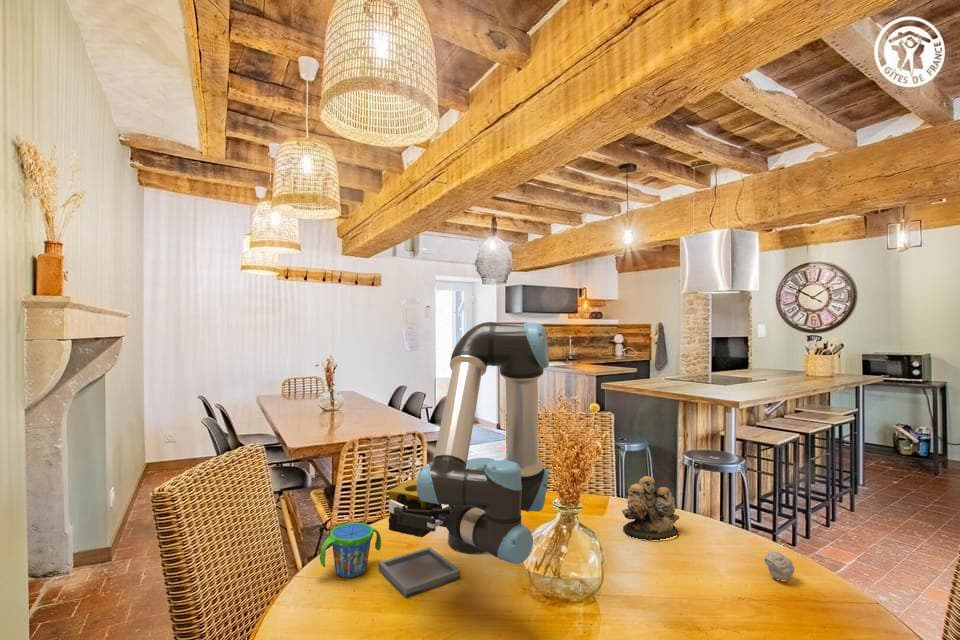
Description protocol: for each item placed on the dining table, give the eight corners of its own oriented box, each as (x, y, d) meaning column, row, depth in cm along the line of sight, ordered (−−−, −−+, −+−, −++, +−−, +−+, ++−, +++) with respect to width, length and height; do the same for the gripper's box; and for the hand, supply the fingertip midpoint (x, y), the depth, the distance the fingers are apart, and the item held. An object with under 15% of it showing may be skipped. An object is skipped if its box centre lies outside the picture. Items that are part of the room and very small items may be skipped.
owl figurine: (632, 544, 138) (632, 484, 139) (613, 527, 150) (613, 472, 150) (687, 539, 142) (687, 481, 142) (665, 523, 153) (665, 470, 154)
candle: (443, 523, 123) (444, 484, 123) (422, 539, 113) (423, 496, 114) (409, 516, 127) (410, 478, 127) (387, 530, 118) (388, 490, 118)
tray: (429, 554, 130) (429, 547, 130) (460, 578, 117) (460, 570, 118) (378, 570, 121) (378, 562, 121) (405, 598, 109) (406, 589, 109)
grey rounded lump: (757, 575, 122) (758, 548, 122) (780, 572, 123) (780, 545, 123) (778, 588, 116) (778, 559, 116) (801, 585, 117) (801, 556, 117)
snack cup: (373, 554, 129) (373, 517, 129) (388, 572, 120) (389, 531, 120) (313, 570, 120) (314, 529, 120) (325, 590, 111) (326, 546, 112)
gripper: (428, 559, 98) (369, 527, 113) (505, 525, 115) (446, 501, 130) (428, 523, 98) (370, 495, 113) (506, 494, 116) (446, 474, 130)
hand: (410, 498), depth 122 cm, fingers closed on candle, 12 cm apart
